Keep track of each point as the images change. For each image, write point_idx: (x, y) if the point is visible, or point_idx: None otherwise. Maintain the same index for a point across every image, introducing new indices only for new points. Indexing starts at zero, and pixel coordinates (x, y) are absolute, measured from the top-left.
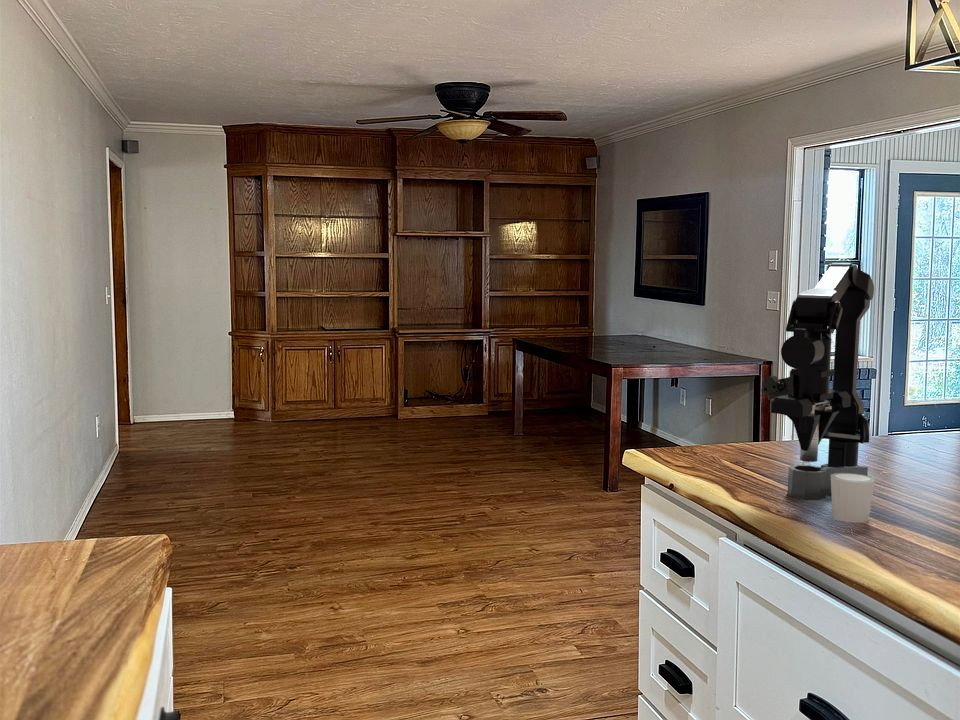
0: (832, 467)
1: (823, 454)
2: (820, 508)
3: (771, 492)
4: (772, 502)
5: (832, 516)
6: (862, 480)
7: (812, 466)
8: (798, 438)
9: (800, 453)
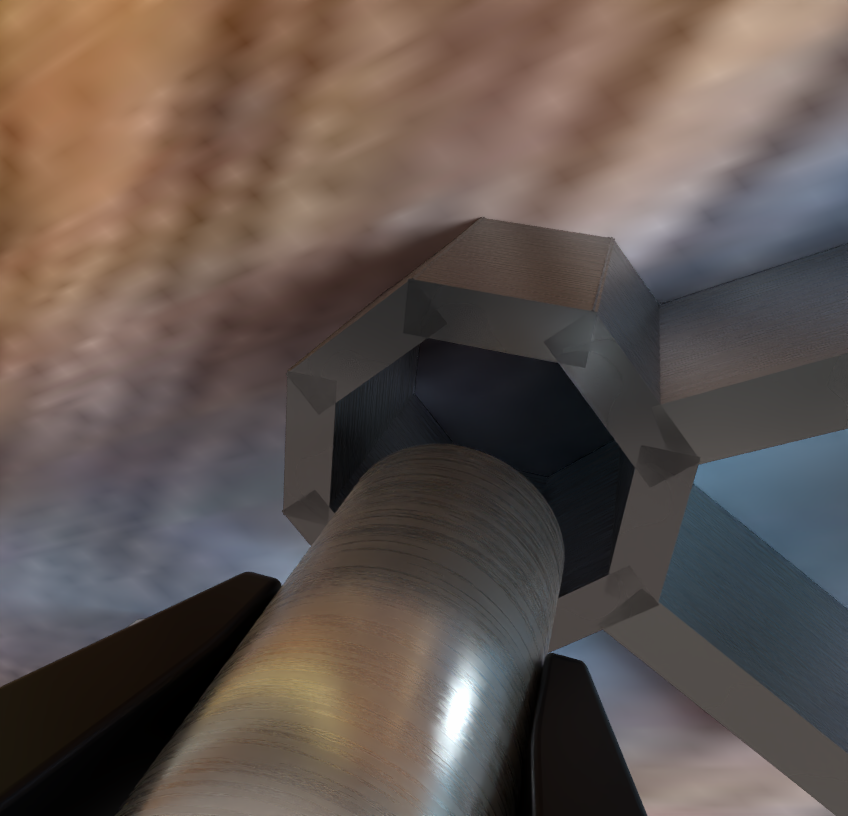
0: (728, 688)
1: None
2: (247, 536)
3: (415, 78)
4: (131, 229)
5: (136, 621)
6: None
7: (631, 503)
8: (73, 659)
9: (345, 505)
